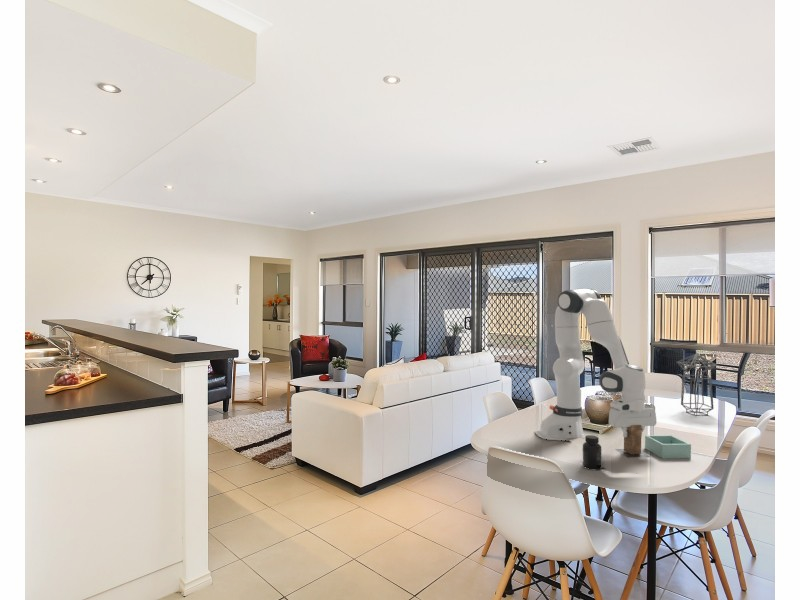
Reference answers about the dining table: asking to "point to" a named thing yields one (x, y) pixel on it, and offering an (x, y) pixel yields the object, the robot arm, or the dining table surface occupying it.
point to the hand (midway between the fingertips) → (632, 436)
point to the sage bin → (667, 446)
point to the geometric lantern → (698, 382)
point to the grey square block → (632, 454)
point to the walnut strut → (633, 440)
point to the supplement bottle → (592, 453)
